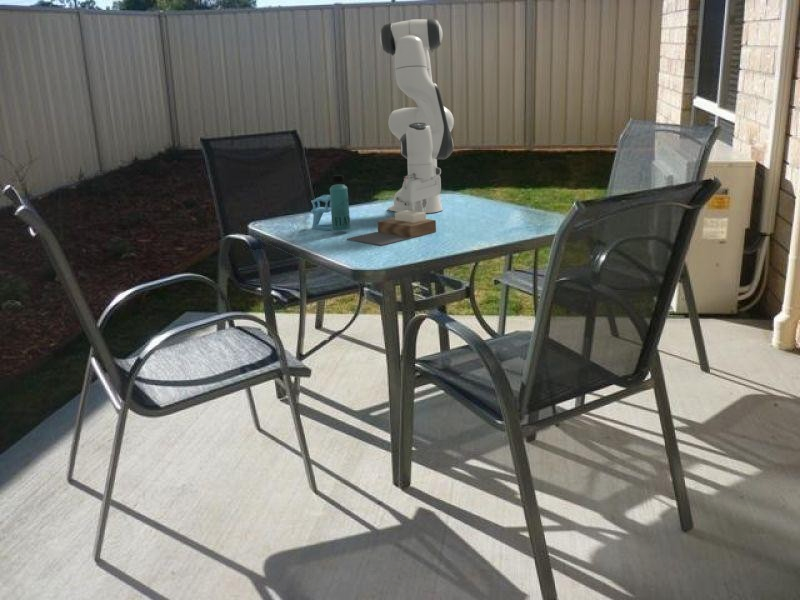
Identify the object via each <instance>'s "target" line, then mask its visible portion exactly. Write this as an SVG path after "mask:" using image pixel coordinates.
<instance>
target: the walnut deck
mask: <svg viewBox="0 0 800 600" xmlns="http://www.w3.org/2000/svg"><path fill="white" fill-rule="evenodd" d="M376 221H377V220H376ZM436 221H437V220H435V219H429V218H426V220H423V221H418V222H414V223H413V222H406V221H399V220H395V216H394V217H391V218H386V219H381V220H378V221H377V232H380V233H386V234H393V235H399V236H405V237H411V239H413V238H417V237H422V236H425V235H429V234H433V233H436V232H437V226H436V225H437V222H436Z"/></svg>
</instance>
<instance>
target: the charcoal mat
mask: <svg viewBox="0 0 800 600" xmlns="http://www.w3.org/2000/svg"><path fill="white" fill-rule="evenodd" d="M410 239H412V238H411V237H405V236H399V235H393V234H386V233H380V232H378V231H373V232H369V233H366V234H362V235H356V236H353V237H347V238H346V240H347V241H352V242H358V243H363V244H369V245H373V246H374V245H375V246H379V247H383V246H388V245H391V244H395V243H399V242H403V241H406V240H410Z"/></svg>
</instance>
